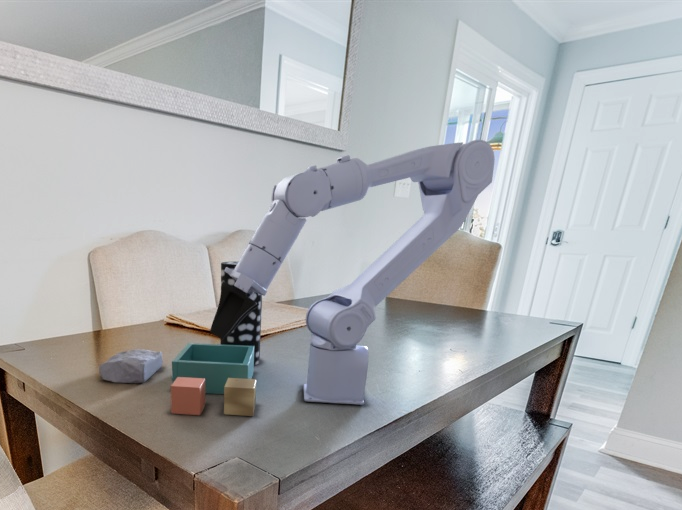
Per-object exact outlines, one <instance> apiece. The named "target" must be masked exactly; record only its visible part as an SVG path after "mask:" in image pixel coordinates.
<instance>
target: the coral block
mask: <svg viewBox="0 0 682 510" xmlns="http://www.w3.org/2000/svg"><path fill="white" fill-rule="evenodd" d="M205 406H206V393H205V378H188V377H177V378H176V380H175V381H174V382H173V383H171V385H170V407H171V408H170V409H171V414H176V415H190V416H201V414H202V412H203V411H204V408H205Z"/></svg>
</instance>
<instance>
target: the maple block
mask: <svg viewBox="0 0 682 510" xmlns="http://www.w3.org/2000/svg"><path fill="white" fill-rule="evenodd" d="M256 401H257V379H256V378H252V379H243V378H228V380H227V382H226V384H225V387H224V394H223V415H230V416H243V417H254V414H255V409H256V403H257V402H256Z"/></svg>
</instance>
